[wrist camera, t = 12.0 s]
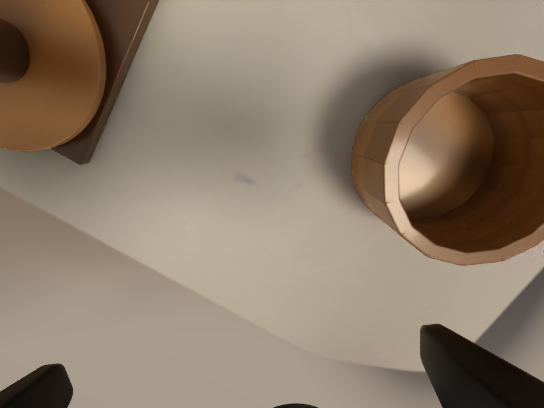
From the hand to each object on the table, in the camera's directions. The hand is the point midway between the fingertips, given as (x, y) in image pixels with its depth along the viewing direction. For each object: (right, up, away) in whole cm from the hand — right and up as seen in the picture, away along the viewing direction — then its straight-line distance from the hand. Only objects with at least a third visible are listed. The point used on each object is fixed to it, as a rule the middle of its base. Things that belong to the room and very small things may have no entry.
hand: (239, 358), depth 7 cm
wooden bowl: (+10, +7, +10) cm, 16 cm away
